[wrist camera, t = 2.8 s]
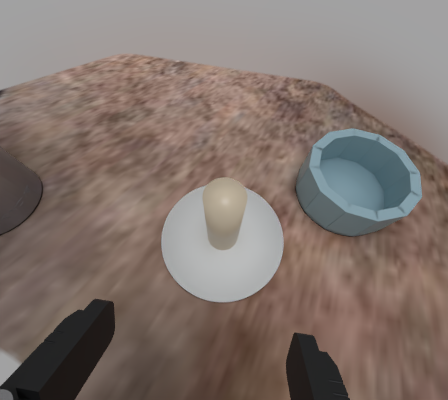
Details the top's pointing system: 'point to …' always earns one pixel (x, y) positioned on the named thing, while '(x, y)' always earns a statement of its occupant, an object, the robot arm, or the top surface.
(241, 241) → the lid
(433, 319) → the top surface
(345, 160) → the bowl
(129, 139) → the top surface
